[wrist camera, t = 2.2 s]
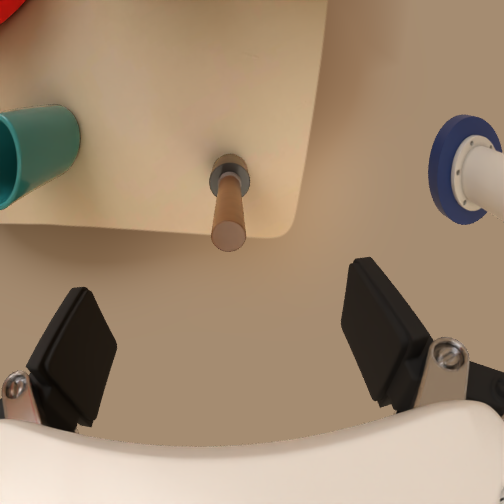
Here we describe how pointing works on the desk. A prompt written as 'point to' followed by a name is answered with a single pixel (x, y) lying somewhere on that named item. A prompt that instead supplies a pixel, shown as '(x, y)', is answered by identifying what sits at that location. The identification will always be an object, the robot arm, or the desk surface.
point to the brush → (229, 201)
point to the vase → (9, 8)
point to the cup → (35, 148)
